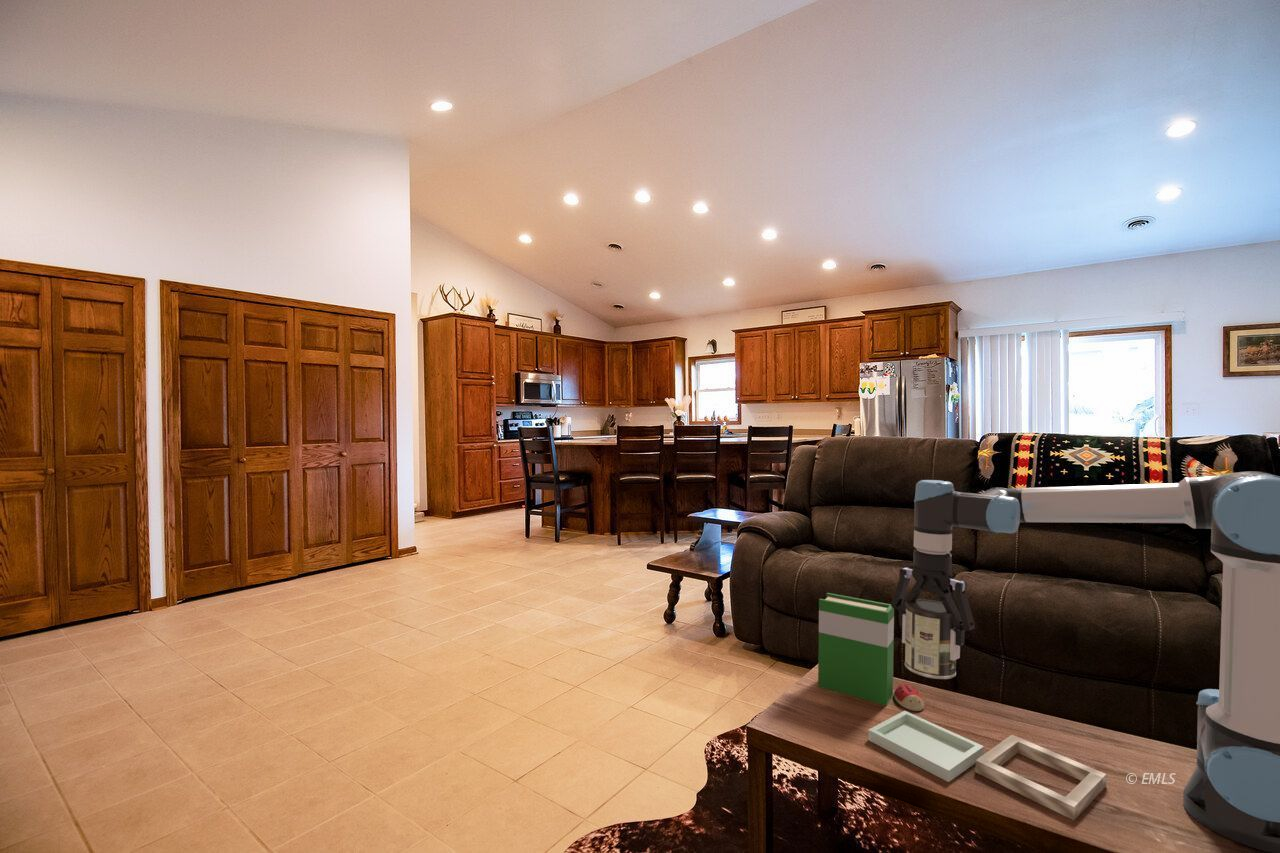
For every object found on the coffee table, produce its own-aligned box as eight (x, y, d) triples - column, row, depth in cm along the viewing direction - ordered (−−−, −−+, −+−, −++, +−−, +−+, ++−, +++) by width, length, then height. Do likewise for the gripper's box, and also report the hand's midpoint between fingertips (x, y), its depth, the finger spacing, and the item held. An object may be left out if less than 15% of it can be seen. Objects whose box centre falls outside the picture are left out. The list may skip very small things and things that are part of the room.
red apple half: (903, 712, 141) (904, 698, 141) (887, 693, 151) (887, 680, 151) (930, 713, 141) (931, 699, 140) (912, 693, 150) (913, 680, 150)
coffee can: (947, 661, 128) (948, 600, 128) (963, 682, 118) (965, 615, 118) (898, 656, 130) (900, 596, 130) (910, 676, 120) (912, 611, 120)
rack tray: (983, 757, 122) (983, 746, 122) (948, 782, 113) (948, 770, 113) (904, 720, 137) (904, 710, 137) (868, 740, 128) (868, 729, 128)
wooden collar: (1106, 786, 112) (1106, 774, 112) (1074, 820, 103) (1074, 807, 103) (1011, 745, 126) (1011, 734, 126) (975, 772, 117) (975, 760, 117)
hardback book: (818, 686, 154) (819, 599, 154) (826, 676, 160) (827, 592, 160) (886, 705, 144) (887, 612, 143) (892, 694, 150) (894, 605, 149)
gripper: (995, 559, 117) (993, 665, 117) (894, 538, 135) (891, 630, 136) (978, 564, 112) (975, 674, 113) (875, 542, 131) (873, 636, 132)
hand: (930, 650), depth 124 cm, fingers closed on coffee can, 10 cm apart
